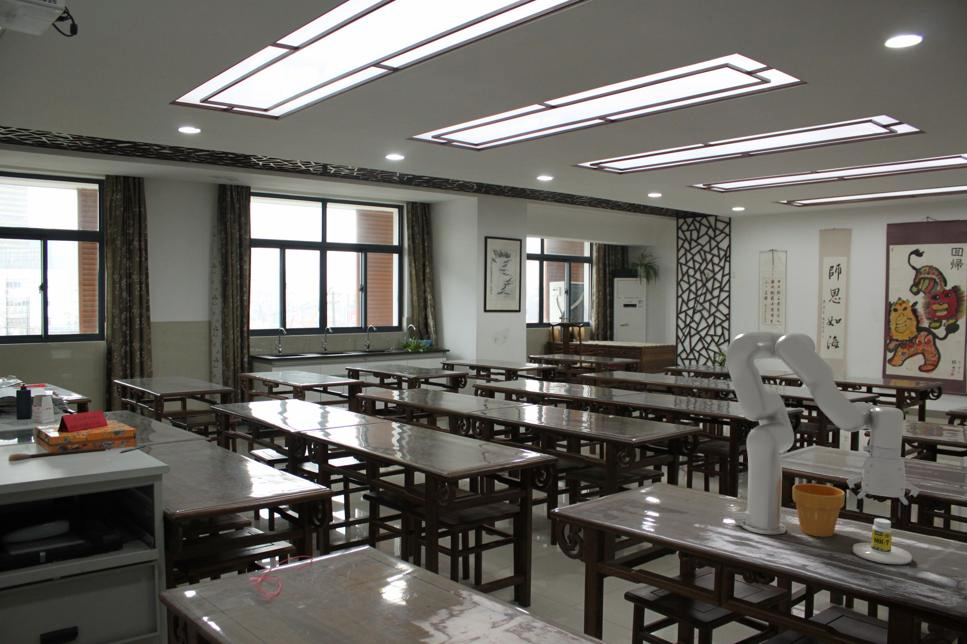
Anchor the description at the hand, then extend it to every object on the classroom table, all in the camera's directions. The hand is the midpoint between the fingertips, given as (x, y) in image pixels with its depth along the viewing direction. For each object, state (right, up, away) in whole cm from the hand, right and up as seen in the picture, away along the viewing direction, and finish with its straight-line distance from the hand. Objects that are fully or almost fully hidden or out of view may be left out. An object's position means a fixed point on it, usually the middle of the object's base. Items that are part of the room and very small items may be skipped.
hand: (880, 514), depth 196 cm
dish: (0, -11, 0) cm, 11 cm away
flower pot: (-8, -11, +20) cm, 24 cm away
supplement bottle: (0, -10, 0) cm, 10 cm away
